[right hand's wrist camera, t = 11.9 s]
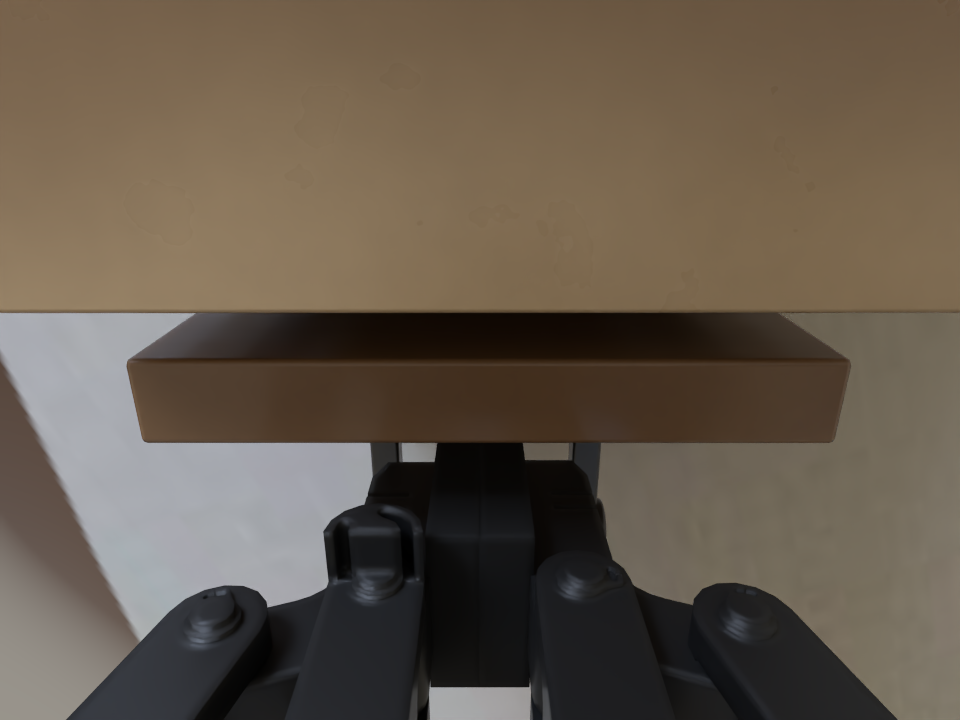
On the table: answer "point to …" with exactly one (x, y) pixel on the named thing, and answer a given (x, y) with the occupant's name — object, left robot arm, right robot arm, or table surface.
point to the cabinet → (479, 156)
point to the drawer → (488, 381)
